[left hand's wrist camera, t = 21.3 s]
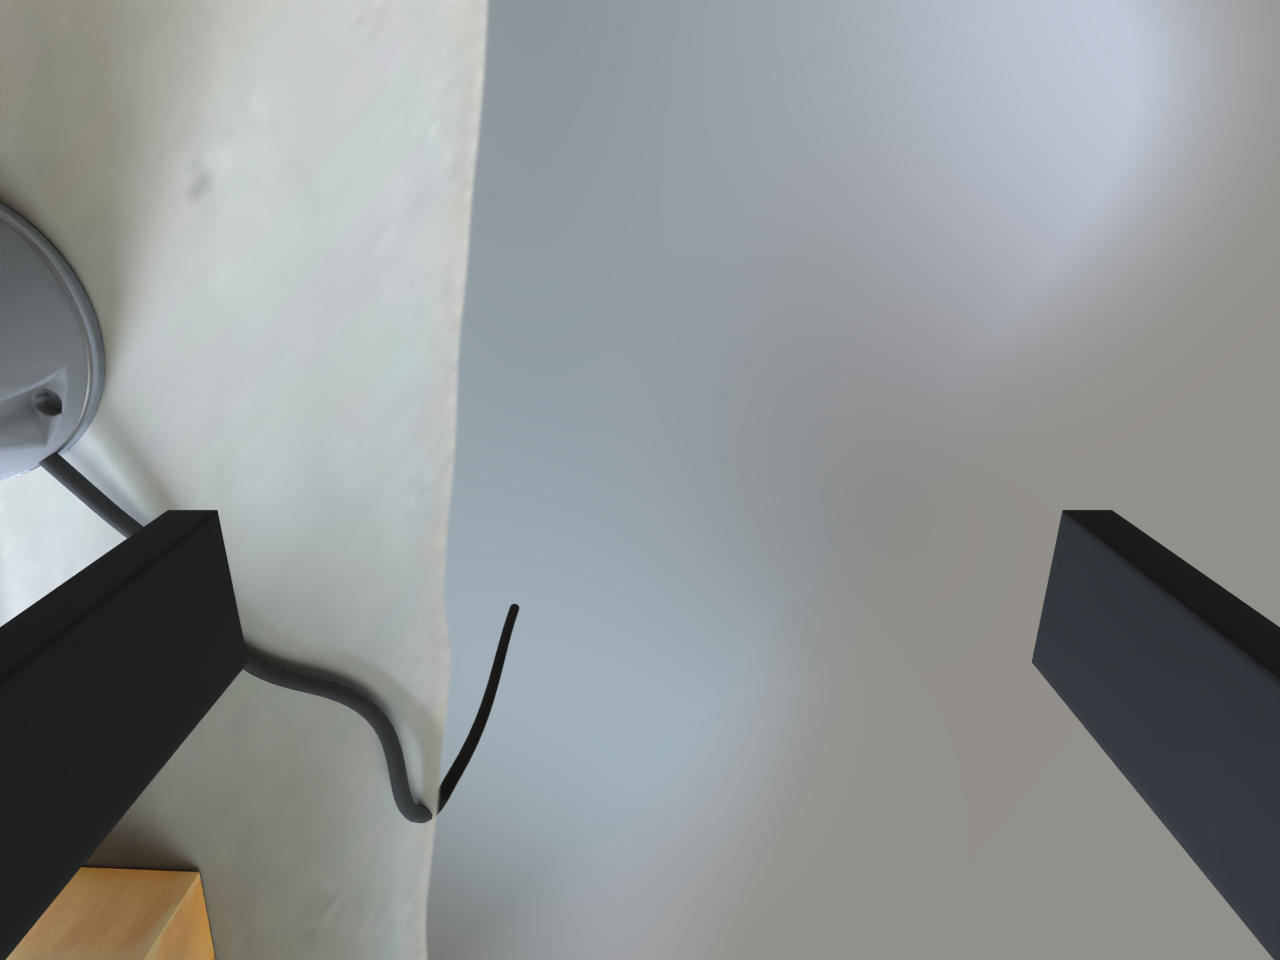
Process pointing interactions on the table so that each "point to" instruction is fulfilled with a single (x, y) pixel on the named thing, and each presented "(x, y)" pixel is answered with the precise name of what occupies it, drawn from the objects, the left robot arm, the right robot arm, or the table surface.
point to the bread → (123, 918)
